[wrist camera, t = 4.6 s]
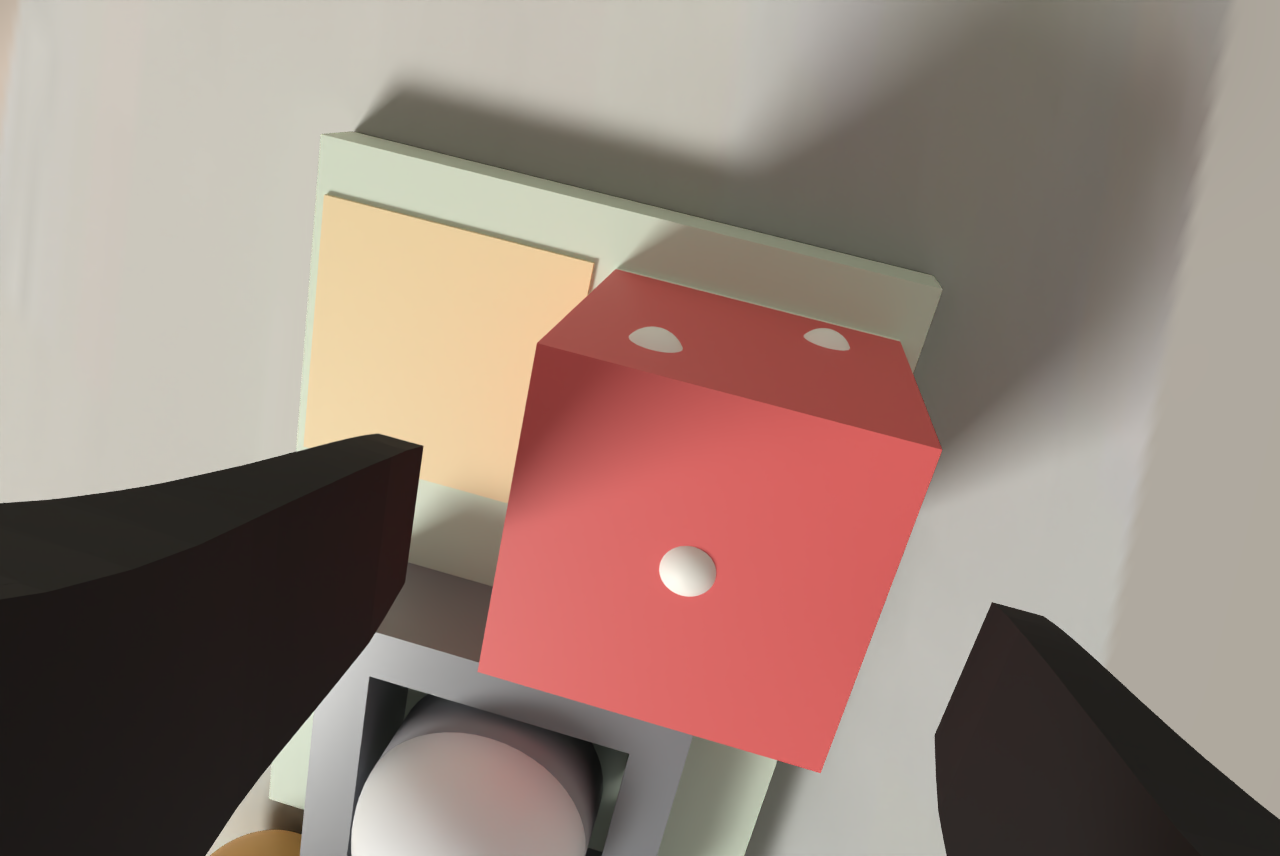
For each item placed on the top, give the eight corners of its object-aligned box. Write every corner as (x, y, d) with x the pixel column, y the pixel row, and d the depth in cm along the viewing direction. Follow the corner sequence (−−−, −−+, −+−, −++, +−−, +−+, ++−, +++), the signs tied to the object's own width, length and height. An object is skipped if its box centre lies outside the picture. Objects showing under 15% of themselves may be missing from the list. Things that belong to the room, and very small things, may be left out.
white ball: (587, 855, 20) (531, 1052, 16) (398, 797, 20) (296, 975, 16) (628, 697, 18) (577, 871, 14) (422, 637, 19) (316, 790, 14)
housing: (635, 896, 21) (615, 993, 18) (349, 807, 21) (296, 890, 19) (708, 648, 18) (696, 726, 16) (380, 554, 19) (322, 616, 16)
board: (719, 895, 22) (714, 942, 21) (294, 764, 23) (266, 801, 22) (933, 275, 16) (943, 290, 15) (352, 131, 17) (317, 134, 16)
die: (812, 598, 17) (816, 794, 12) (561, 527, 18) (470, 691, 13) (904, 330, 15) (951, 440, 10) (618, 257, 16) (535, 331, 11)
